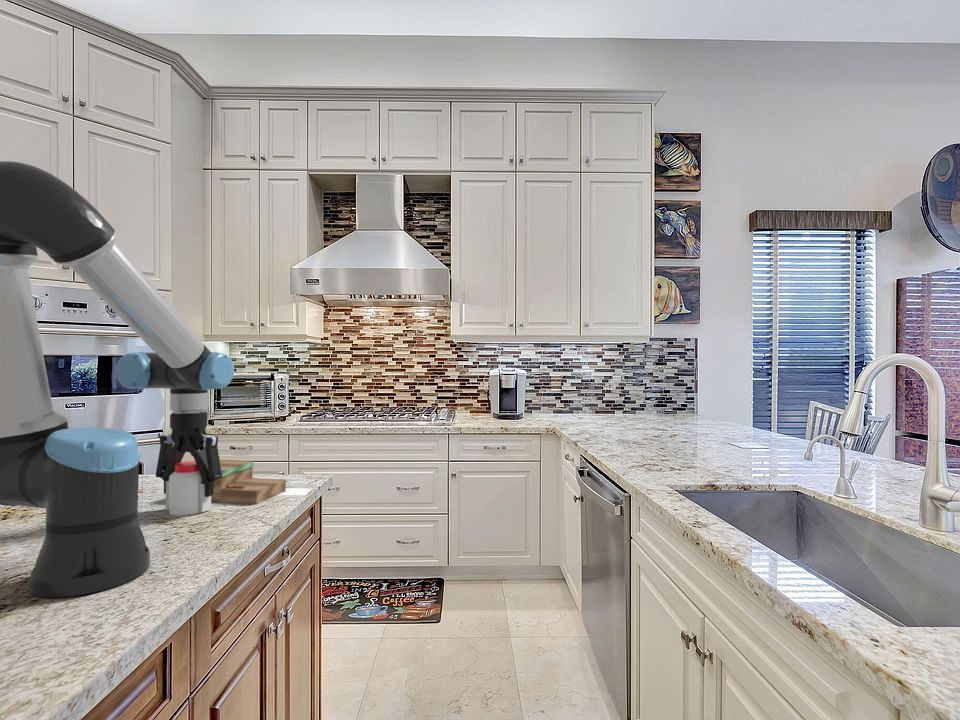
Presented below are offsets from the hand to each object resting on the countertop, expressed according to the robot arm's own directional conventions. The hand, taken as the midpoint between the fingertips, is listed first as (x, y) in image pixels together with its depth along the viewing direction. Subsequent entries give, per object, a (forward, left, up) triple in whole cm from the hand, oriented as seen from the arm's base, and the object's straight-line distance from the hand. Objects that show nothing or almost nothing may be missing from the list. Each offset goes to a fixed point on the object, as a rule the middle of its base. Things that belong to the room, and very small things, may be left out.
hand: (188, 509), depth 114 cm
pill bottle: (0, 0, -1) cm, 1 cm away
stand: (+14, -2, 0) cm, 14 cm away
